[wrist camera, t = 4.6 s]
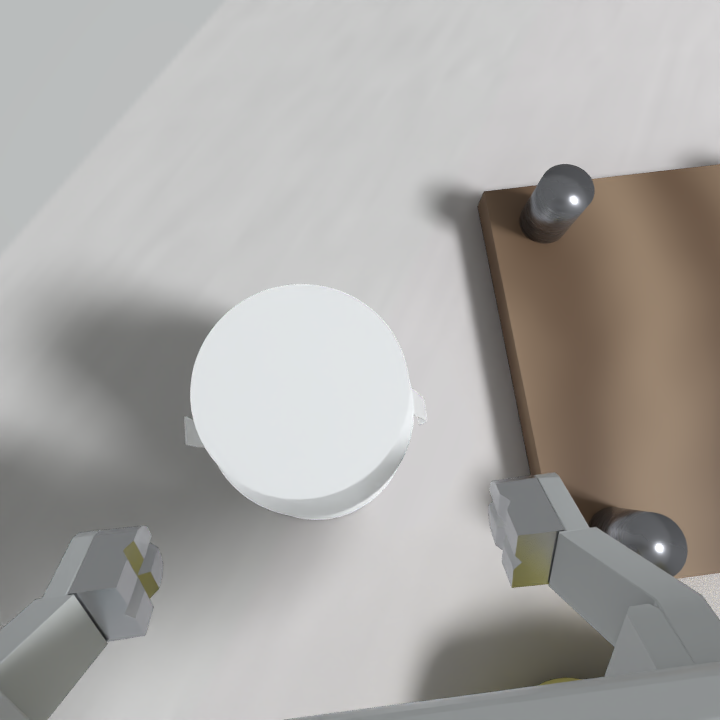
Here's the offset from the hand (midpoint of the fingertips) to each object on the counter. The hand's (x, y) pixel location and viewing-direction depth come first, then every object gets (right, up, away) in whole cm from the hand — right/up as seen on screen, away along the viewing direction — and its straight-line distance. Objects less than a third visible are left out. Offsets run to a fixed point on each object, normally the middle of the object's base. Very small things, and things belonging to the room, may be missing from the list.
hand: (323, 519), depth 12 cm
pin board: (+15, +4, +9) cm, 18 cm away
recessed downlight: (-1, +1, +8) cm, 9 cm away
